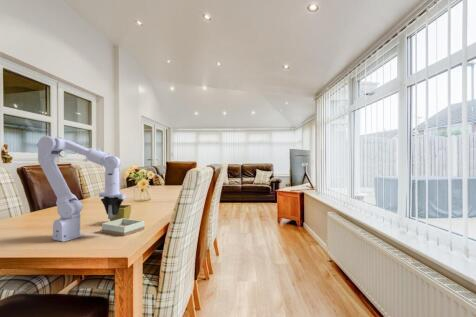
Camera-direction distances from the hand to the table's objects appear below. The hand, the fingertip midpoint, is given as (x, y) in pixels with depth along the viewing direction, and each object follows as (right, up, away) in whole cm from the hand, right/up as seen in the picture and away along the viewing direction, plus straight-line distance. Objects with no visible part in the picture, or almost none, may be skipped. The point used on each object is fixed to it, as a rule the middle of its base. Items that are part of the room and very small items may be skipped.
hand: (112, 214), depth 115 cm
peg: (0, -2, 0) cm, 2 cm away
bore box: (+2, -9, +8) cm, 12 cm away
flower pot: (-6, -10, +21) cm, 24 cm away
